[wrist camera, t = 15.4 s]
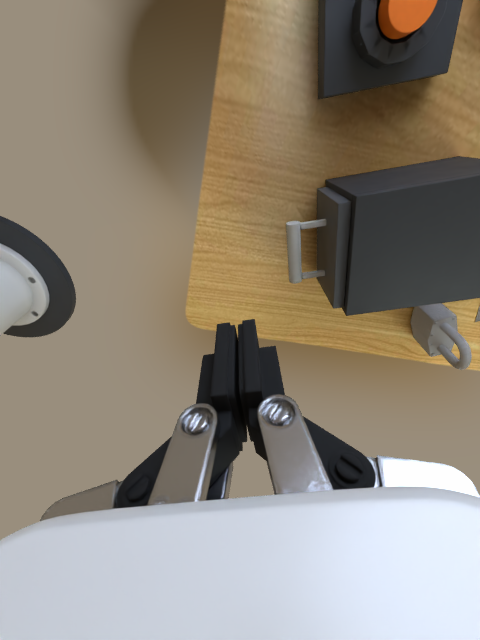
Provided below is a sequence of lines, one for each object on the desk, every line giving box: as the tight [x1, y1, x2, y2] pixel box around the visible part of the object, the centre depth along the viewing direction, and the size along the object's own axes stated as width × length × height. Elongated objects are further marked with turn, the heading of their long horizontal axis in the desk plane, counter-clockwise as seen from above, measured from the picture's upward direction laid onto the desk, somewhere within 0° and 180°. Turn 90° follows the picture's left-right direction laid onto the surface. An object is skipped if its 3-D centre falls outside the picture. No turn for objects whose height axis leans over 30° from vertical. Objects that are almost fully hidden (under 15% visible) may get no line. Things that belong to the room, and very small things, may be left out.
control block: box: [318, 0, 463, 99], centre depth 22 cm, size 11×9×4 cm
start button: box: [378, 0, 438, 39], centre depth 20 cm, size 4×4×2 cm
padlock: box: [411, 303, 471, 370], centre depth 38 cm, size 7×4×10 cm, turn 19°
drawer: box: [286, 187, 352, 308], centre depth 30 cm, size 18×11×8 cm, turn 99°
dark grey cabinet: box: [326, 156, 480, 316], centre depth 30 cm, size 15×13×10 cm
